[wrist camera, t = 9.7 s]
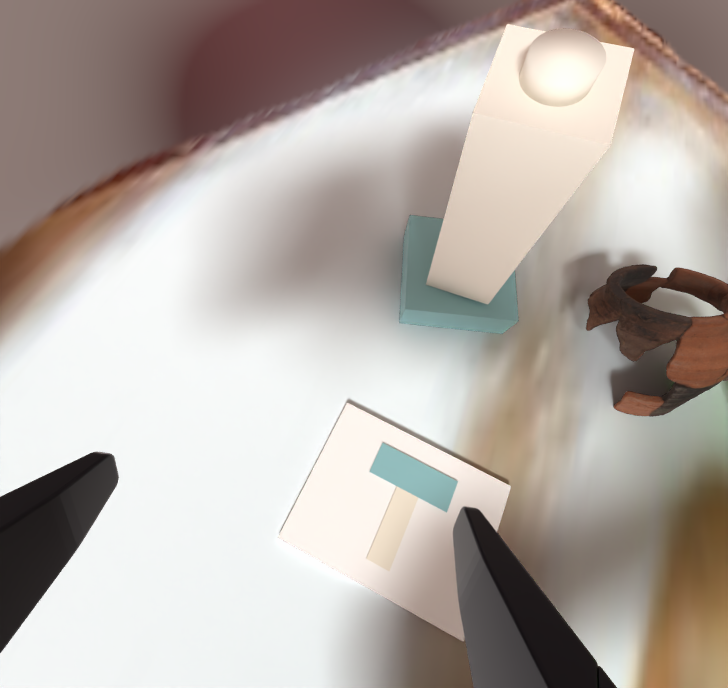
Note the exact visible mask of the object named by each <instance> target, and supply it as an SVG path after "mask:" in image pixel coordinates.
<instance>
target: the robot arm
mask: <svg viewBox="0 0 728 688" xmlns="http://www.w3.org/2000/svg"><path fill="white" fill-rule="evenodd" d="M118 478H119V476H118V471H117V467H116V462H115V458H114V456H113V455H112V454H110V453H103V452H93V453H90V454H88V455H86V456H84V457H82V458H80V459H78V460H76V461H73V462H71V463H69V464H67V465H65V466H63V467H61V468H59V469H57V470H55V471H53V472H51V473H49V474H47V475H44V476H42V477H40V478H38V479H36V480H34V481H32V482H30V483H28V484H26V485H24V486H22V487H20V488H18V489H15V490H13V491H11V492H9V493H7V494H5V495H3V496H1V497H0V653H1V652H2V650H3V649H4V648H5V646H6V645H7V644H8V642H9V641H10V640H11V638H12V637H13V636H14V634H15V633H16V632H17V630H18V629H19V627H20V626H21V625H22V623H23V622H24V621H25V619H26V618H27V617H28V615H29V614H30V613H31V611H32V610H33V609H34V607H35V606H36V604H37V603H38V602H39V600H40V599H41V598H42V596H43V595H44V594H45V592H46V591H47V590H48V588H49V587H50V586H51V584H52V583H53V581H54V580H55V579H56V577H57V576H58V575H59V573H60V572H61V571H62V569H63V568H64V567H65V565H66V564H67V563H68V561H69V560H70V558H71V557H72V556H73V554H74V553H75V551H76V550H77V549H78V547H79V546H80V544H81V543H82V541H83V539H84V538H85V536H86V535H87V533H88V531H89V530H90V528H91V527H92V525H93V523H94V522H95V520H96V518H97V517H98V515H99V513H100V512H101V510H102V509H103V507H104V505H105V504H106V502H107V500H108V499H109V497H110V496H111V494H112V492H113V491H114V489H115V487H116V485H117V483H118ZM453 545H454V557H455V569H456V581H457V592H458V602H459V608H460V615H461V620H462V626H463V631H464V637H465V642H466V648H467V653H468V659H469V664H470V670H471V676H472V681H473V687H474V688H617V687H616V686H615V685H614V683H613V682H612V681H611V679H610V678H609V677H608V675H607V674H606V673H605V672H604V670H603V669H602V668H601V667H600V666H598V665H597V662H596V660H595V659H594V658H593V656H592V655H591V654H590V652H589V651H588V650H587V648H586V647H585V646H584V645H583V643H582V642H581V641H580V639H579V638H578V637H577V635H576V634H575V633H574V632H573V630H572V629H571V628H570V626H569V625H568V624H567V622H566V621H565V620H564V619H563V617H562V616H561V615H560V613H559V612H558V611H557V609H556V608H555V607H554V606H553V604H552V603H551V602H550V600H549V599H548V598H547V596H546V595H545V594H544V593H543V591H542V590H541V589H540V587H539V586H538V585H537V584H536V582H535V581H534V580H533V578H532V577H531V576H530V574H529V573H528V572H527V571H526V569H525V568H524V567H523V565H522V564H521V563H520V561H519V560H518V559H517V558H516V556H515V555H514V554H513V552H512V551H511V550H510V548H509V547H508V546H507V545H506V543H505V542H504V541H503V539H502V538H501V537H500V535H499V534H498V533H497V532H496V530H495V529H494V528H493V526H492V525H491V524H490V522H489V521H488V520H487V519H486V517H485V516H484V515H483V513H482V512H481V511H480V510H479V509H477V508H473V507H466V506H464V507H462V508H461V510H460V512H459V514H458V517H457V519H456V522H455V524H454V527H453Z"/></svg>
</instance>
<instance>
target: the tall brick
mask: <svg viewBox="0 0 728 688" xmlns="http://www.w3.org/2000/svg"><path fill="white" fill-rule="evenodd" d="M633 52H634V48H629V47H624V46H618V45H613V44H608V43H603V42H599V41H598V40H597V39H596V38H595V37H593V36H591V35H590V34H588V33H585V32H583V31H580V30H575V29H566V28H563V29H554V30H550V31H547V32H545V31H540V30H535V29H530V28H525V27H519V26H514V25H509V24H507V26H506V28H505V31H504V34H503V36H502V39H501V41H500V44H499V46H498V49H497V52H496V54H495V57H494V59H493V62H492V65H491V67H490V70H489V72H488V75H487V77H486V80H485V83H484V85H483V88H482V90H481V93H480V95H479V98H478V101H477V103H476V106H475V108H474V111H473V114H472V117H471V121H470V125H469V128H468V132H467V136H466V139H465V143H464V147H463V150H462V154H461V158H460V161H459V165H458V169H457V172H456V176H455V180H454V183H453V187H452V191H451V194H450V198H449V202H448V205H447V209H446V212H445V216H444V220H443V223H442V227H441V231H440V234H439V238H438V242H437V245H436V249H435V253H434V256H433V260H432V264H431V267H430V271H429V275H428V278H427V282H426V285H429V286H432V287H435V288H438V289H441V290H444V291H447V292H450V293H453V294H456V295H459V296H463V297H466V298H469V299H472V300H475V301H478V302H481V303H484V304H487V305H488V304H489V303H490V301H491V300H492V299H493V298H494V296H495V295H496V294H497V292H498V291H499V290H500V288H501V287H502V286H503V285H504V283H505V282H506V281H507V279H508V278H509V277H510V275H511V274H512V273H513V272H514V270H515V269H516V268H517V266H518V265H519V264H520V262H521V261H522V260H523V259H524V257H525V256H526V255H527V253H528V252H529V251H530V249H531V248H532V247H533V246H534V244H535V243H536V242H537V240H538V239H539V238H540V236H541V235H542V234H543V233H544V231H545V230H546V229H547V227H548V226H549V225H550V223H551V222H552V221H553V220H554V218H555V217H556V216H557V214H558V213H559V212H560V211H561V209H562V208H563V207H564V205H565V204H566V203H567V201H568V200H569V199H570V198H571V196H572V195H573V194H574V192H575V191H576V190H577V188H578V187H579V186H580V185H581V183H582V182H583V181H584V179H585V178H586V177H587V175H588V174H589V173H590V172H591V170H592V169H593V168H594V166H595V165H596V164H597V162H598V161H599V160H600V159H601V157H602V156H603V155H604V153H605V152H606V151H607V149H608V148H609V147H610V146H611V142H612V138H613V134H614V130H615V126H616V122H617V118H618V113H619V109H620V105H621V101H622V97H623V93H624V89H625V85H626V81H627V77H628V73H629V68H630V64H631V60H632V56H633Z"/></svg>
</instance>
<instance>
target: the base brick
mask: <svg viewBox="0 0 728 688" xmlns="http://www.w3.org/2000/svg"><path fill="white" fill-rule="evenodd" d="M443 220H444V219H441V218H432V217H423V216H415V215H410V216H409V220H408V223H407V227H406V230H405V234H404V244H403V262H402V281H401V299H400V318H399V323H404V324H414V325H423V326H433V327H442V328H452V329H461V330H471V331H480V332H490V333H499V334H503V333H504V332H505V331H507V330H508V329H509V328H510V327H512V326H513V325H514V324H516V323H517V322H518V321H519V320H518V307H517V293H516V279H515V270H514V272H513V273H512V274H511V275H510V277H509V278H508V279H507V281H506V282H505V283H504V285H503V286H502V287H501V288H500V290H499V291H498V292H497V294H496V295H495V296H494V298H493V299H492V300H491V301H490V303H489V304H488V305H487V304H484V303H481V302H478V301H475V300H472V299H469V298H466V297H463V296H459V295H456V294H453V293H450V292H447V291H444V290H441V289H438V288H435V287H432V286H429V285H426V282H427V278H428V275H429V271H430V267H431V264H432V260H433V256H434V253H435V249H436V245H437V242H438V238H439V234H440V231H441V227H442V223H443Z"/></svg>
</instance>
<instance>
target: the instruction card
mask: <svg viewBox="0 0 728 688" xmlns="http://www.w3.org/2000/svg"><path fill="white" fill-rule="evenodd" d="M510 489H511V486H510V485H508V484H506V483H504V482H502V481H500V480H498V479H496V478H494V477H492V476H490V475H488V474H486V473H484V472H482V471H480V470H478V469H476V468H474V467H473V466H471V465H469V464H467V463H465V462H463V461H461V460H459V459H457V458H455V457H453V456H451V455H449V454H447V453H445V452H443V451H441V450H439V449H437V448H435V447H433V446H431V445H429V444H427V443H425V442H424V441H422V440H420V439H418V438H416V437H414V436H412V435H410V434H408V433H406V432H404V431H402V430H400V429H398V428H396V427H394V426H392V425H390V424H388V423H386V422H384V421H382V420H380V419H378V418H377V417H375V416H373V415H371V414H369V413H367V412H365V411H363V410H361V409H359V408H357V407H355V406H353V405H351V404H349V403H347V404H346V406H345V408H344V410H343V411H342V413H341V415H340V417H339V419H338V421H337V423H336V425H335V427H334V429H333V431H332V433H331V435H330V437H329V439H328V441H327V443H326V445H325V446H324V448H323V450H322V452H321V454H320V456H319V458H318V460H317V462H316V464H315V466H314V468H313V470H312V472H311V474H310V476H309V478H308V480H307V482H306V483H305V485H304V487H303V489H302V491H301V493H300V495H299V497H298V499H297V501H296V503H295V505H294V507H293V509H292V511H291V513H290V515H289V517H288V518H287V520H286V522H285V524H284V526H283V528H282V530H281V532H280V534H279V536H278V538H280V539H281V540H283V541H285V542H287V543H289V544H290V545H292V546H294V547H296V548H297V549H299V550H301V551H303V552H304V553H306V554H308V555H310V556H312V557H313V558H315V559H317V560H319V561H320V562H322V563H324V564H326V565H328V566H329V567H331V568H333V569H335V570H336V571H338V572H340V573H342V574H344V575H345V576H347V577H349V578H351V579H352V580H354V581H356V582H358V583H360V584H361V585H363V586H365V587H367V588H368V589H370V590H372V591H374V592H375V593H377V594H379V595H381V596H383V597H384V598H386V599H388V600H390V601H391V602H393V603H395V604H397V605H399V606H400V607H402V608H404V609H406V610H407V611H409V612H411V613H413V614H415V615H416V616H418V617H420V618H422V619H423V620H425V621H427V622H429V623H431V624H432V625H434V626H436V627H438V628H439V629H441V630H443V631H445V632H447V633H448V634H450V635H452V636H454V637H455V638H457V639H459V640H461V641H462V642H464V638H465V637H464V631H463V626H462V620H461V615H460V608H459V602H458V592H457V581H456V569H455V557H454V545H453V527H454V524H455V522H456V519H457V517H458V514H459V512H460V510H461V508H462V507H464V506H466V507H473V508H477V509H479V510H480V511H481V512H482V513H483V515H484V516H485V517H486V519H487V520H488V521H489V522H490V524H491V525H492V526H493V528H494V529H495V530H496V532H497V531H498V528H499V524H500V521H501V518H502V515H503V511H504V508H505V505H506V502H507V498H508V495H509V492H510Z"/></svg>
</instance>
